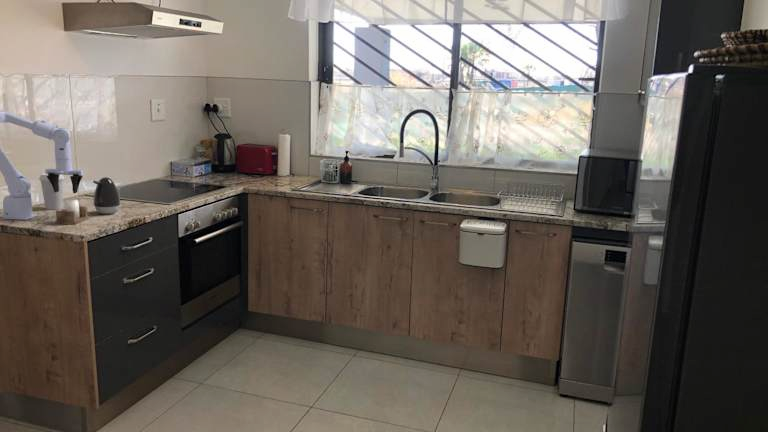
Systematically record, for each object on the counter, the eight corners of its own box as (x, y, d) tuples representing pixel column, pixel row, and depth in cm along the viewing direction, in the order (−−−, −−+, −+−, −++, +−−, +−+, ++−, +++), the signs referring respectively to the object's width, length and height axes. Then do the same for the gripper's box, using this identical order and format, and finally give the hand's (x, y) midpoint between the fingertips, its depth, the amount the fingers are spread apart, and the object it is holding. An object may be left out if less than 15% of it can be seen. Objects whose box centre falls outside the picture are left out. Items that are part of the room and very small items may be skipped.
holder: (54, 223, 233) (53, 209, 231) (70, 217, 243) (69, 203, 242) (75, 224, 232) (74, 210, 231) (89, 218, 243) (88, 204, 242)
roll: (63, 219, 235) (61, 201, 234) (69, 216, 240) (67, 199, 239) (76, 219, 236) (75, 202, 234) (81, 217, 240) (80, 199, 239)
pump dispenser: (88, 213, 252) (86, 177, 249) (111, 209, 261) (109, 174, 258) (102, 216, 247) (100, 180, 244) (125, 212, 255) (123, 177, 252)
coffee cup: (71, 208, 260) (68, 173, 257) (49, 211, 252) (46, 176, 249) (58, 205, 265) (55, 171, 261) (36, 208, 256) (33, 173, 253)
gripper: (39, 159, 236) (42, 193, 239) (76, 161, 236) (78, 194, 239) (49, 157, 243) (52, 190, 246) (85, 158, 243) (87, 191, 246)
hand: (66, 192), depth 243 cm, fingers open, 7 cm apart
